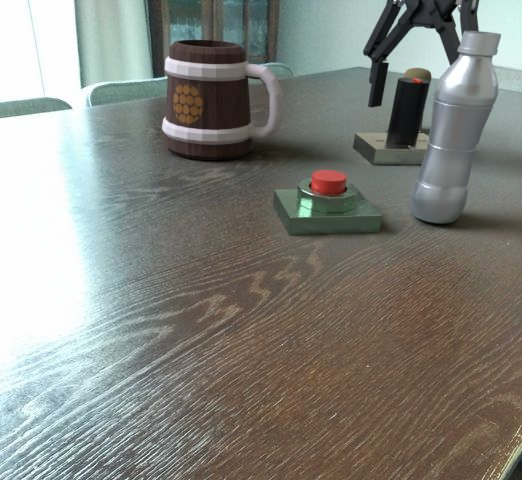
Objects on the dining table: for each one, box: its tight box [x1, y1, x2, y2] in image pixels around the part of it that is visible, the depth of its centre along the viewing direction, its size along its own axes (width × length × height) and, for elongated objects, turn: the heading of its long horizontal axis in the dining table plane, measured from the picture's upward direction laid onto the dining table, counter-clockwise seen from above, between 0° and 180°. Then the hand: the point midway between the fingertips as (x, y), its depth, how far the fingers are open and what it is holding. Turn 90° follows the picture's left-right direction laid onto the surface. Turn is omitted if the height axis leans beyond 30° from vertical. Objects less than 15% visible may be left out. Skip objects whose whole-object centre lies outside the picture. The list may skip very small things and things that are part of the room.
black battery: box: [386, 77, 431, 144], centre depth 80 cm, size 5×5×9 cm
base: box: [352, 132, 429, 166], centre depth 84 cm, size 13×10×3 cm
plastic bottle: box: [409, 30, 502, 224], centre depth 56 cm, size 6×7×20 cm
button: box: [311, 169, 348, 194], centre depth 58 cm, size 4×4×2 cm
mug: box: [161, 39, 284, 161], centre depth 77 cm, size 20×15×15 cm
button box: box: [272, 177, 383, 236], centre depth 60 cm, size 11×9×4 cm
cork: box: [402, 67, 432, 133], centre depth 96 cm, size 6×6×11 cm
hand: (406, 114), depth 81 cm, fingers open, 13 cm apart
